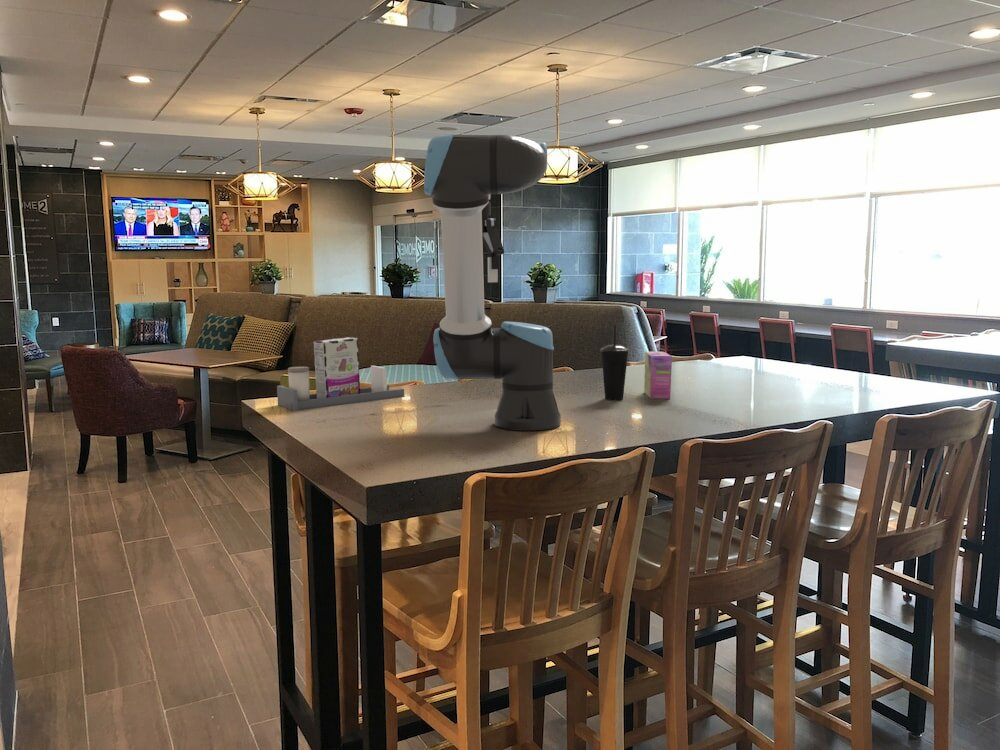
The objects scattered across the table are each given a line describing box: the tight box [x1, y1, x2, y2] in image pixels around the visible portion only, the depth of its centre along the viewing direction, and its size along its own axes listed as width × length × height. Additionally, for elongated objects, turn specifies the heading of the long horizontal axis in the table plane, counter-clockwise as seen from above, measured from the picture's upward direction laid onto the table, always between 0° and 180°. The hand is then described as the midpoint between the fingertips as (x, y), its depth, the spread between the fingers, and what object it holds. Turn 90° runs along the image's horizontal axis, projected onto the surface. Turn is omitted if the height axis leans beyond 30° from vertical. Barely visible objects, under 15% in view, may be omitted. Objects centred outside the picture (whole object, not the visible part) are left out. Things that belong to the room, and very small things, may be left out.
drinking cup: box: [600, 324, 630, 401], centre depth 214 cm, size 8×8×20 cm
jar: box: [287, 366, 311, 401], centre depth 201 cm, size 5×5×10 cm
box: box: [643, 351, 673, 400], centre depth 219 cm, size 10×6×12 cm, turn 179°
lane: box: [276, 384, 406, 412], centre depth 209 cm, size 10×32×6 cm, turn 128°
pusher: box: [370, 365, 388, 392], centre depth 216 cm, size 7×4×8 cm, turn 38°
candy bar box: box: [313, 337, 361, 399], centre depth 207 cm, size 11×5×16 cm, turn 140°
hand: (477, 282), depth 212 cm, fingers open, 13 cm apart
